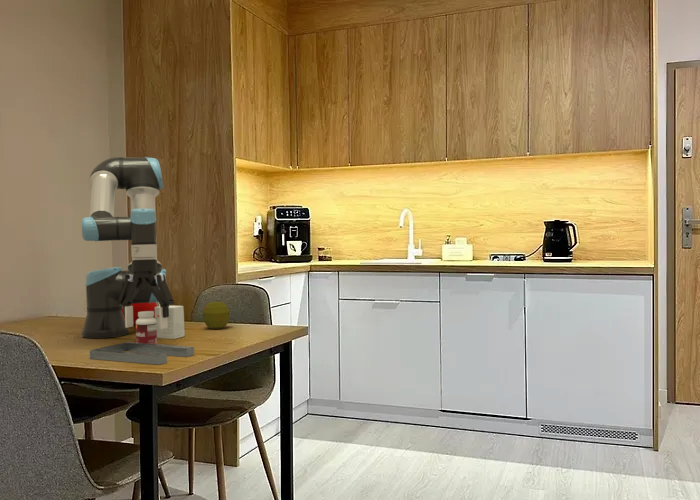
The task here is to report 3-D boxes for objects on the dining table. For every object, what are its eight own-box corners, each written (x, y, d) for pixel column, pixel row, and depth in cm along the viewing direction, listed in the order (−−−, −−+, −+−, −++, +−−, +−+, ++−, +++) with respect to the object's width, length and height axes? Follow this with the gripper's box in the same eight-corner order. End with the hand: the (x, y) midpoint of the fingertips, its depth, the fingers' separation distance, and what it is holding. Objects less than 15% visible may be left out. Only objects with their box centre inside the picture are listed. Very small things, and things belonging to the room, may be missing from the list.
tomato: (126, 322, 272) (125, 294, 271) (160, 321, 273) (159, 293, 273) (119, 326, 260) (118, 297, 259) (154, 325, 261) (154, 296, 261)
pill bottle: (132, 347, 212) (131, 312, 211) (149, 344, 217) (148, 310, 216) (143, 349, 208) (142, 313, 207) (161, 346, 213) (160, 311, 212)
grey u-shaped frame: (89, 358, 195) (89, 350, 195) (127, 349, 208) (127, 341, 208) (158, 364, 184) (158, 355, 184) (194, 354, 198) (194, 346, 198)
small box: (185, 336, 232) (184, 305, 232) (174, 339, 227) (173, 307, 226) (166, 335, 235) (165, 304, 235) (155, 338, 230) (154, 306, 230)
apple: (234, 328, 248) (234, 298, 248) (209, 331, 243) (208, 300, 242) (223, 325, 256) (222, 296, 256) (198, 328, 251) (198, 298, 251)
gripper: (104, 259, 213) (106, 327, 213) (168, 258, 202) (170, 330, 203) (122, 258, 220) (124, 324, 220) (184, 258, 209) (186, 327, 210)
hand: (146, 327), depth 212 cm, fingers open, 13 cm apart
